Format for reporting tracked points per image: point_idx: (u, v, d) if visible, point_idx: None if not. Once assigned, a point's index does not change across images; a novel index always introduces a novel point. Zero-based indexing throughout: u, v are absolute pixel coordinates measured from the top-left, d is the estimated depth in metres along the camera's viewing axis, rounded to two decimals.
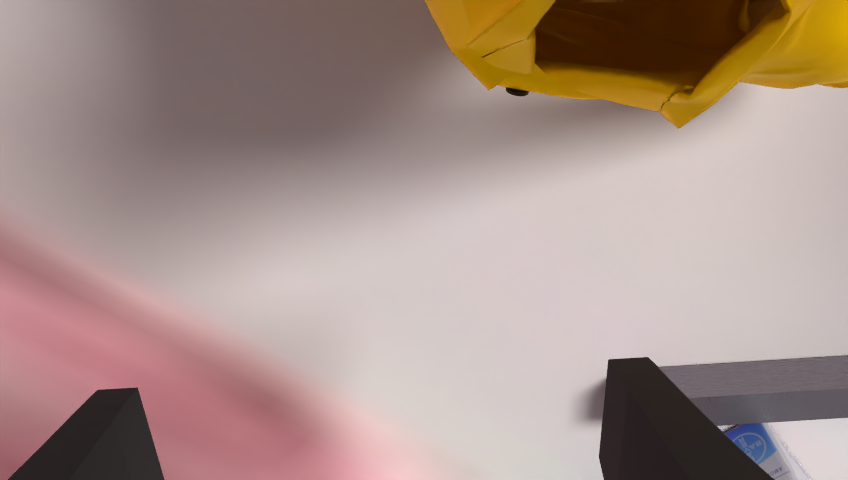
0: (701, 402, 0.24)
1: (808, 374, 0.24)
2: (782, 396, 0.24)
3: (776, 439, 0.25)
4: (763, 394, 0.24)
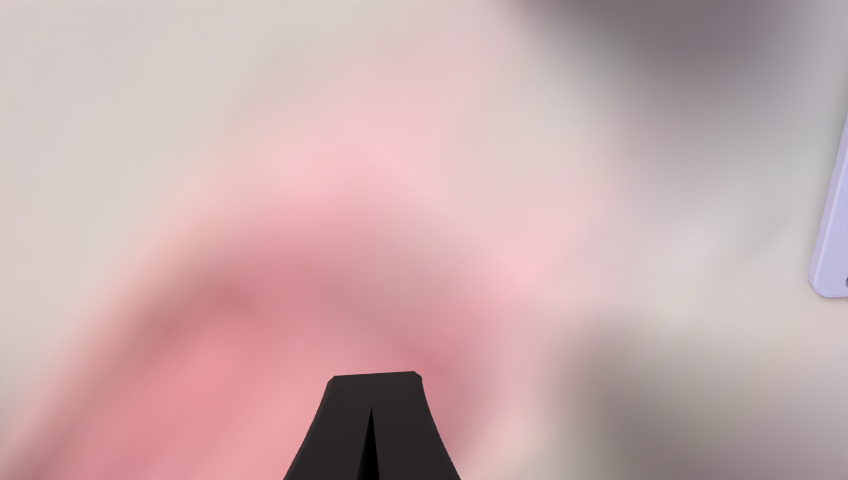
0: None
1: None
2: None
3: None
4: None
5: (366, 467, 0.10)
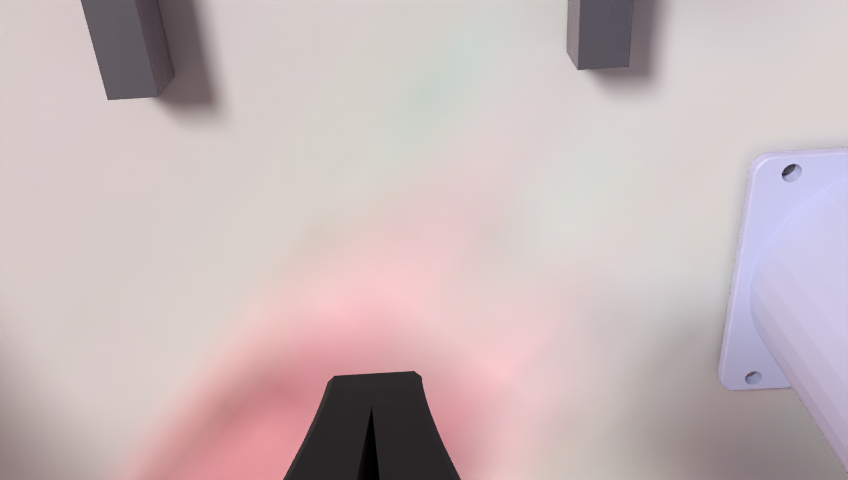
0: (91, 8, 0.18)
1: None
2: None
3: None
4: None
5: (366, 467, 0.10)
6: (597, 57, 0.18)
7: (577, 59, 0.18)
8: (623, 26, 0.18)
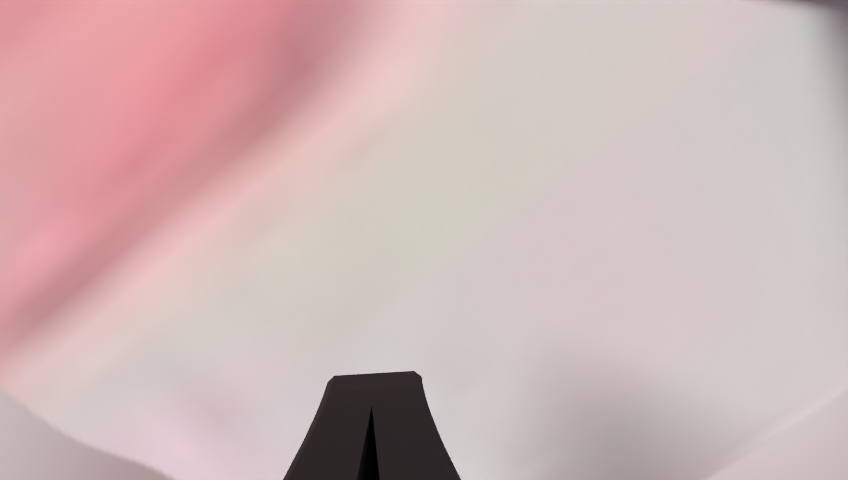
0: None
1: None
2: None
3: None
4: None
5: (366, 467, 0.10)
6: None
7: None
8: None
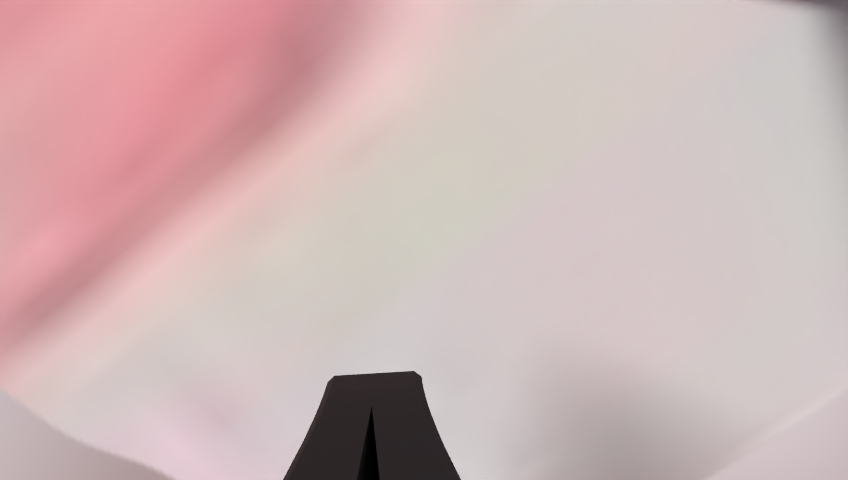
0: None
1: None
2: None
3: None
4: None
5: (366, 467, 0.10)
6: None
7: None
8: None
